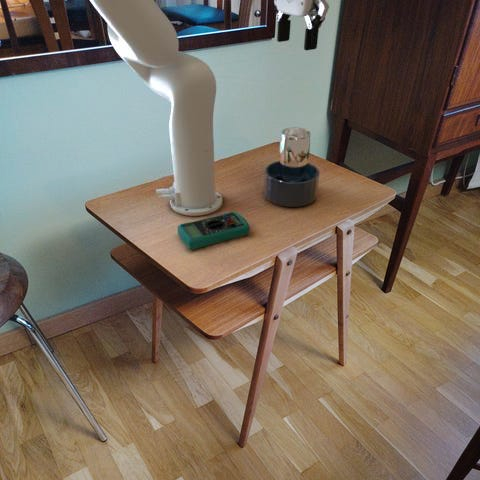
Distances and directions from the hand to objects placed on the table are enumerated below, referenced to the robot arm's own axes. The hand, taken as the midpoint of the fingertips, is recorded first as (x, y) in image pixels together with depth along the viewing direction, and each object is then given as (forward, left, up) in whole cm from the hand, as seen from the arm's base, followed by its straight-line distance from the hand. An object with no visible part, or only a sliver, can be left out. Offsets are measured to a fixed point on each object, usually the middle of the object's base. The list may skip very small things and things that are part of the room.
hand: (296, 45), depth 101 cm
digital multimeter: (-24, -27, -31) cm, 47 cm away
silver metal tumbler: (-2, -12, -30) cm, 32 cm away
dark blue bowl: (-3, -12, -30) cm, 33 cm away
